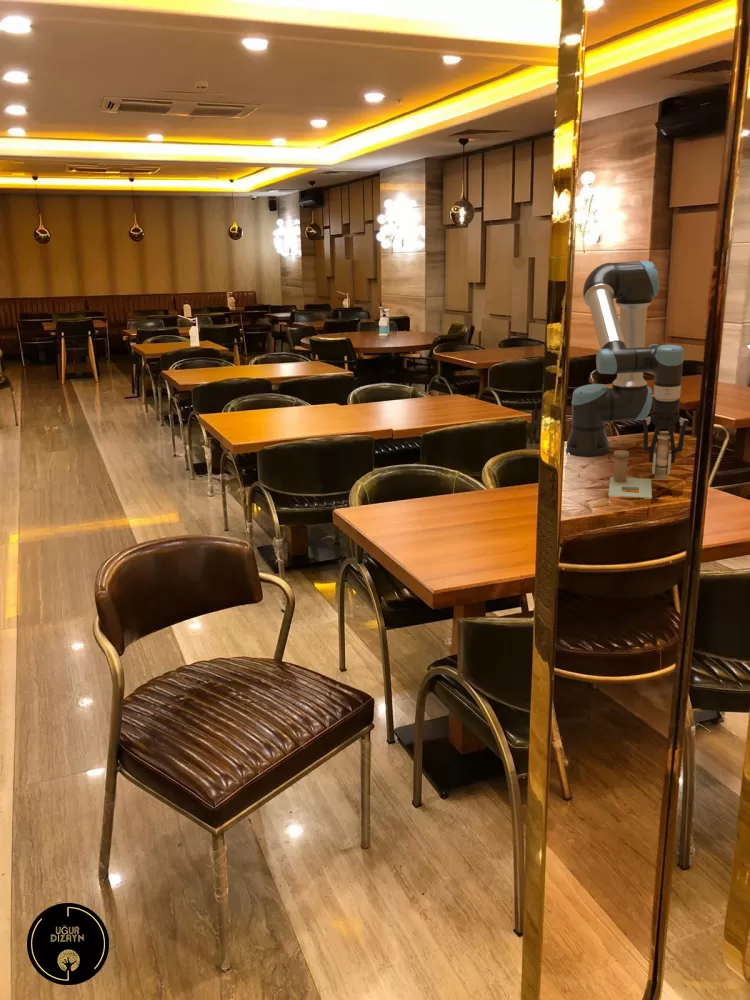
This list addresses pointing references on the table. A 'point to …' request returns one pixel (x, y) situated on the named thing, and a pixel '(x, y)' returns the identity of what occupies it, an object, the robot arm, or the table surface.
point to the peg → (662, 455)
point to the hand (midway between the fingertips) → (660, 472)
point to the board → (627, 480)
